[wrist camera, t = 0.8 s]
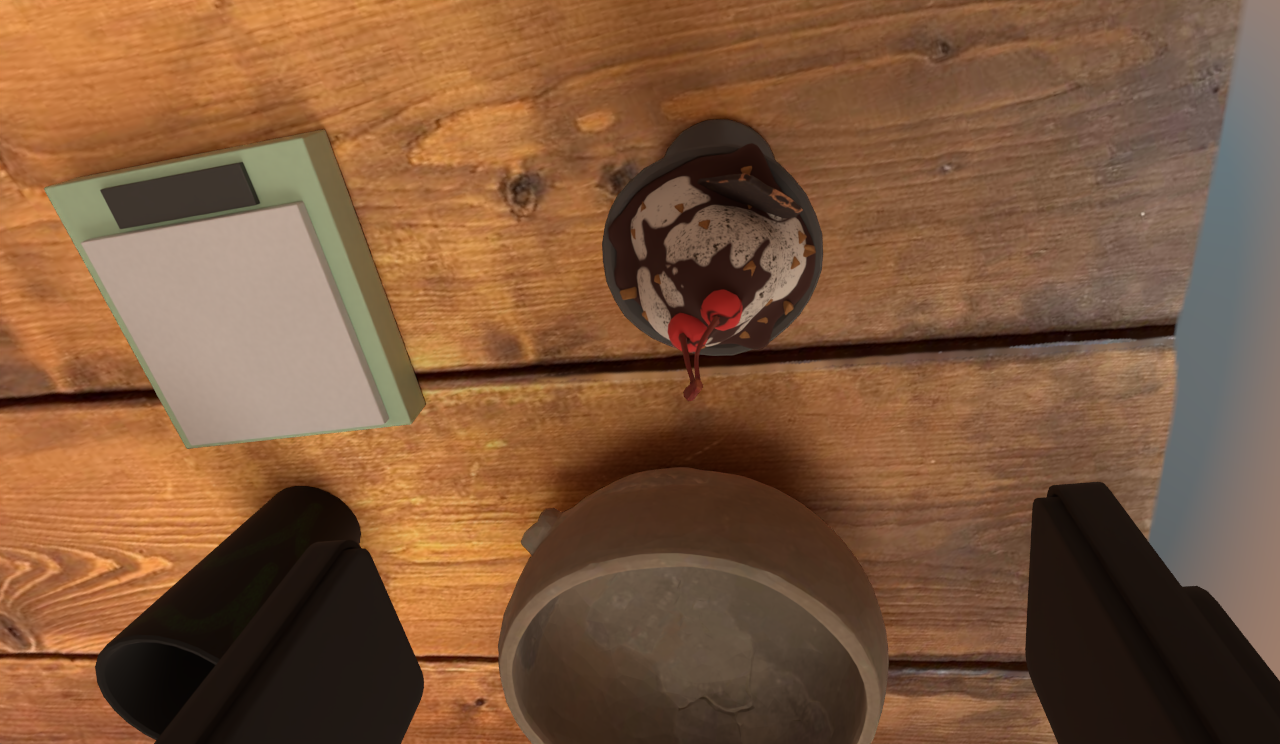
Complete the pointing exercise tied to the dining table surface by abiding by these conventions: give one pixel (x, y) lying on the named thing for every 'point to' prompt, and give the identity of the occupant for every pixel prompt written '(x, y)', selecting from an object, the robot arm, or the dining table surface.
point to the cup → (213, 607)
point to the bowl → (692, 620)
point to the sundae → (713, 245)
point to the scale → (245, 291)
